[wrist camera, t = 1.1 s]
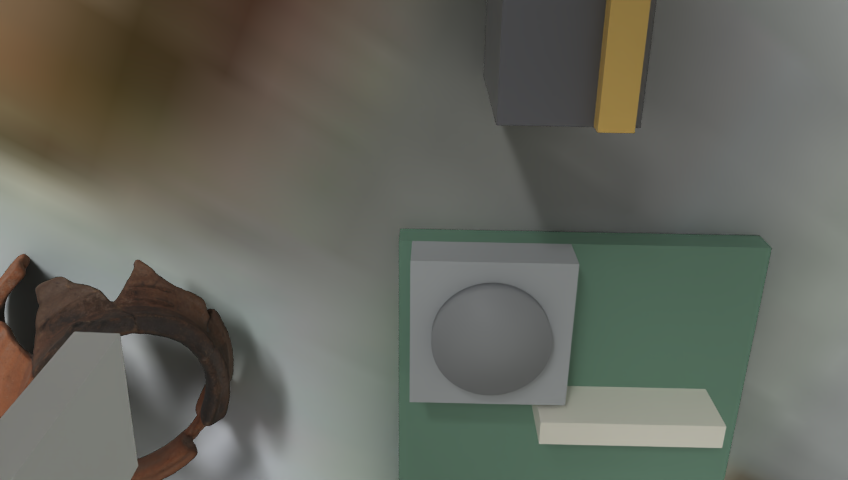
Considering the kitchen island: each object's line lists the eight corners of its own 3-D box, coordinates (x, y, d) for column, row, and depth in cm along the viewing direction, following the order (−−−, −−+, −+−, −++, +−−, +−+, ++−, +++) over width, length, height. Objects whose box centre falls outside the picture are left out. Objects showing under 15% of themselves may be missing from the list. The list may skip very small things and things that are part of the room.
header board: (400, 228, 30) (395, 269, 27) (759, 235, 30) (800, 277, 27) (400, 573, 37) (395, 640, 34) (691, 581, 37) (716, 648, 34)
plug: (491, -106, 26) (510, -113, 19) (612, -104, 26) (676, -110, 19) (483, 76, 28) (497, 130, 21) (594, 78, 28) (645, 133, 21)
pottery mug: (26, 178, 30) (50, 258, 24) (236, 255, 36) (301, 337, 30) (-100, 436, 32) (-111, 579, 25) (122, 471, 37) (160, 595, 31)
